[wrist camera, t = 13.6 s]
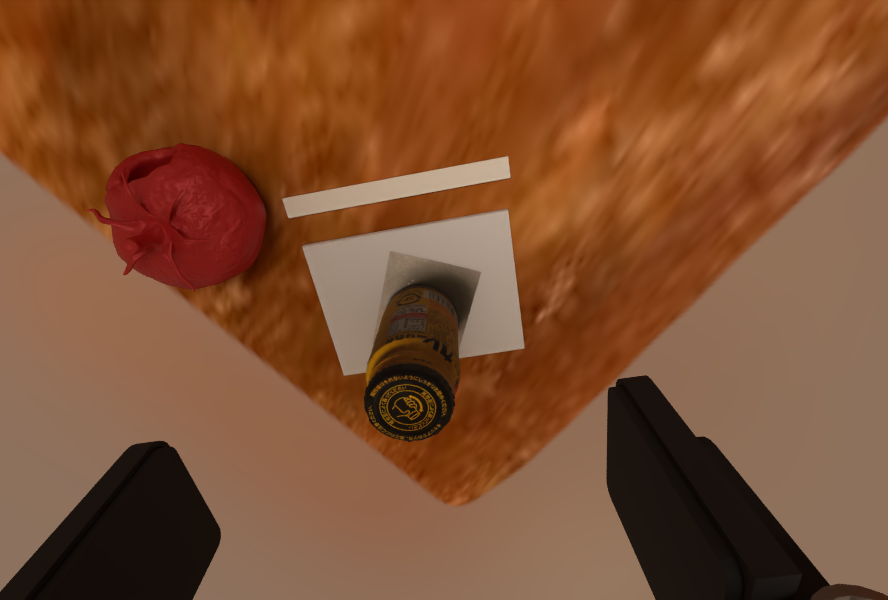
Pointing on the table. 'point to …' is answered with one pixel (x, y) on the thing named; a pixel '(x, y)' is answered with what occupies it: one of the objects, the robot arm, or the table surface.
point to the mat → (363, 274)
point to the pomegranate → (184, 216)
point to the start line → (398, 187)
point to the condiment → (417, 346)
